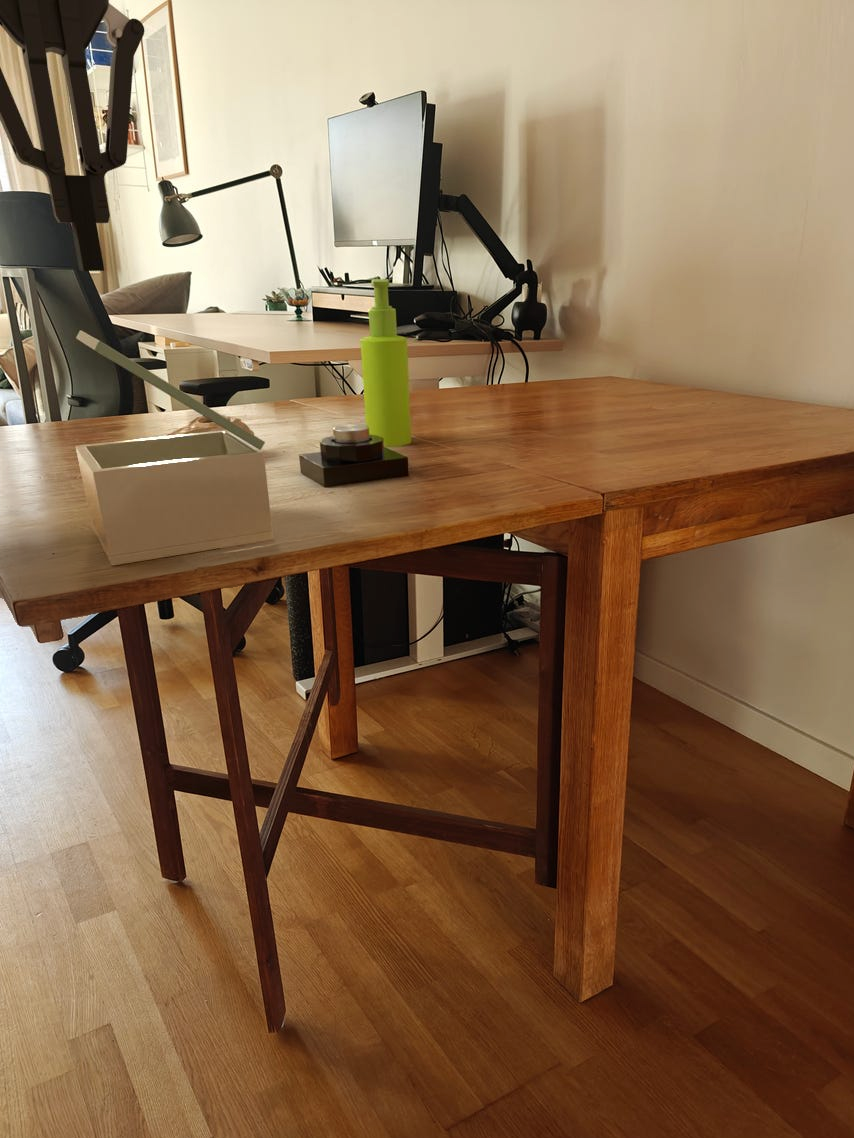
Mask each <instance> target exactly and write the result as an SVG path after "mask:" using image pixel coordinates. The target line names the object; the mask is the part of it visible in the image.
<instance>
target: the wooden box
mask: <svg viewBox="0 0 854 1138" xmlns="http://www.w3.org/2000/svg"><path fill="white" fill-rule="evenodd" d="M164 436H165V437H164ZM164 436H157V437H147V438H138V439H128V440H118V441H110V442H100V443H99V442H98V443H89V444H80V445H75V451H76V456H77V460H78V461H77V462H78V467H79V471H80V476H81V481H82V486H83V490H84V491H83V492H84V496H85V501H86V506H87V509H88V514H89V519H90V524H91V525H90V526H91V529H92V531H93V533H94V536H95V537H96V539H97V541H98V543H99V545H100V547H101V548H102V550H103V552H104V554H105V556H106V559H107V560H108V562H109V563H110V566H111V567H114V566H120V565H126V564H132V563H140V562H145V561H151V560H156V559H164V558H168V557H176V556H181V555H188V554H193V553H199V552H204V551H205V552H206V551H211V550H217V549H222V548H228V547H233V546H234V547H235V546H239V545H246V544H253V543H257V542H258V543H259V542H264V541H269V540H271V541H272V540H274V531H273V522H272V514H271V506H270V505H271V504H270V503H271V502H270V496H269V487H268V486H269V485H268V477H267V470H266V468H267V467H266V461H265V453H264V452H265V451H262V449H261V450H259V449H257V448H256V447H254V446H253V445H251V444H249V443H248V442H246V441H244V440H243V439H241V438H239V437H238V436H236V435H234V434H233V433H231V432H229V431H228V430H223V431H214V432H204V433H194V434H185V435H175V436H166V435H164Z"/></svg>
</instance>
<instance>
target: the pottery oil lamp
mask: <svg viewBox="0 0 854 1138" xmlns="http://www.w3.org/2000/svg"><path fill="white" fill-rule="evenodd" d="M221 415H222V416H223V417H225V418H227V419H228V420H230V421H232V422H233V423H235V424H236V425H238V426H240V427H241V428H243V429H245V430H246V431H248V432H249V433H251V434H253V435H254V436H255V432H254V431H253V430H252V429H251V428H250V427H249V426H248V425H247V424H246V423H245V422H243V421H242V419H241V418H237V417H233V416H229V415H228V416H227V415H224V414H221ZM223 430H226V429H224V428H223V427H221V426H219V425H218V424H216V423H214V422H213V421H211V420H209V419H208V418H206V417H204V416H203V415H200V416H197V417H195V418H193V419H192V420H190V421H189V422H188V423H187V425H186V426H183V427H180V428H177V429H175V430H173V431H171V432H170V433H167V434H166V435H164V436H163V437H165V436H175V435H185V434H194V433H204V432H214V431H223Z"/></svg>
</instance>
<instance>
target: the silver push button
mask: <svg viewBox="0 0 854 1138" xmlns="http://www.w3.org/2000/svg"><path fill="white" fill-rule="evenodd" d="M332 436H333V437H334V443H339V444H358V443H366V442H369V441H370V436H369V427H368V426H366V424H358V423H352V424H350V423H349V424H339V425H336V426H334V427H333V428H332Z"/></svg>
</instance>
